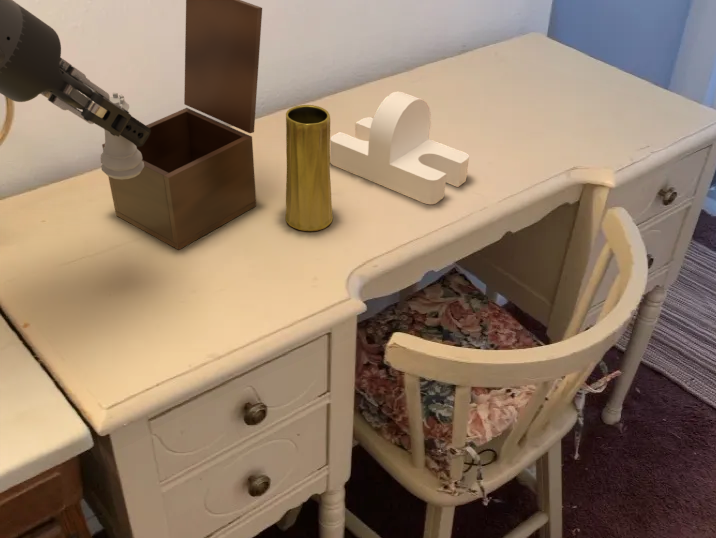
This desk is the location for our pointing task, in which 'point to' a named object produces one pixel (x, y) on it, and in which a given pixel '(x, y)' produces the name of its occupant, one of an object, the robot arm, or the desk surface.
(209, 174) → the chest
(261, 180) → the desk surface
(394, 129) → the u-slot stand
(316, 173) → the vase
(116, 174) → the rook chess piece
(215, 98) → the lid
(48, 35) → the robot arm
